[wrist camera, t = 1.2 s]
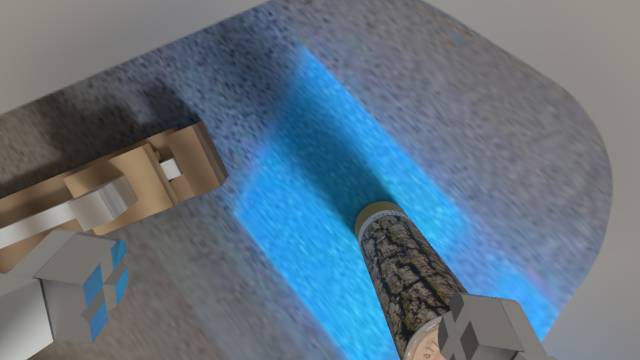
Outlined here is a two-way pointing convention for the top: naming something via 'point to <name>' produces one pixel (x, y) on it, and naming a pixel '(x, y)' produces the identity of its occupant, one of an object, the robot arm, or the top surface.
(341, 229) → the top surface
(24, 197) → the rail track
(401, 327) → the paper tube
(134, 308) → the top surface
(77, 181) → the carriage
